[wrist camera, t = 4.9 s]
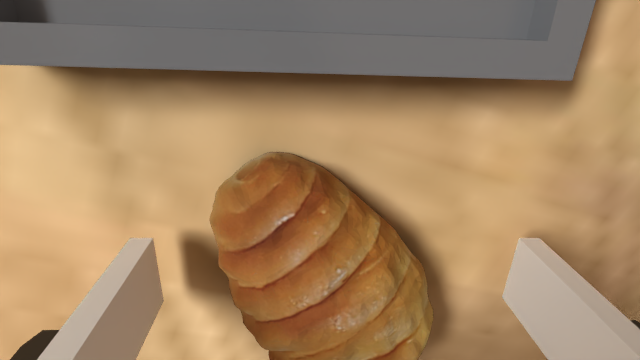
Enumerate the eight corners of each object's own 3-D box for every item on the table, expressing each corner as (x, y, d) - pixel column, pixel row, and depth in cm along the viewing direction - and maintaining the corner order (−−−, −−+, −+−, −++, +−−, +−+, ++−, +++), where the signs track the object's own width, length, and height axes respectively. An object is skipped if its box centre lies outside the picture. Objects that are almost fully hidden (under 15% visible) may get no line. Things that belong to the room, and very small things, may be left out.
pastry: (171, 202, 14) (129, 263, 10) (326, 106, 13) (339, 138, 9) (306, 354, 17) (308, 439, 14) (437, 288, 16) (476, 363, 13)
